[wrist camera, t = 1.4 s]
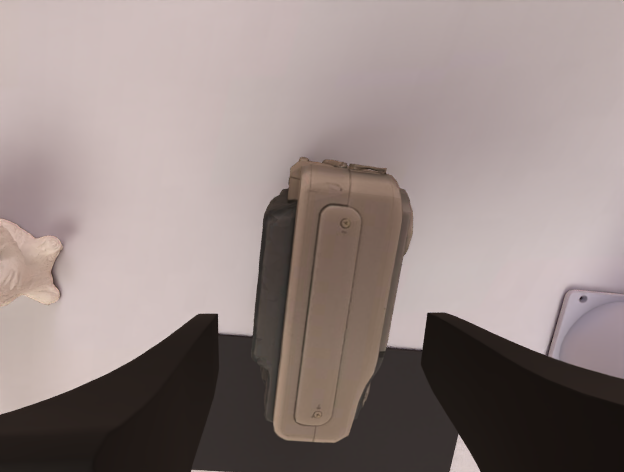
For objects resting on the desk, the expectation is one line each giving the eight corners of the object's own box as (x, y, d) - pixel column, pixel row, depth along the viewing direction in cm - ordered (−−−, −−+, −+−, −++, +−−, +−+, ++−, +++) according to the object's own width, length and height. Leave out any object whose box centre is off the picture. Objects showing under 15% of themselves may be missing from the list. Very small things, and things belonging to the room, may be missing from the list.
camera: (343, 335, 24) (373, 461, 14) (259, 324, 23) (229, 445, 14) (376, 166, 21) (439, 176, 12) (282, 152, 21) (266, 148, 11)
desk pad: (475, 354, 24) (476, 356, 24) (445, 482, 27) (446, 484, 27) (186, 331, 23) (185, 333, 23) (182, 466, 26) (181, 469, 26)
